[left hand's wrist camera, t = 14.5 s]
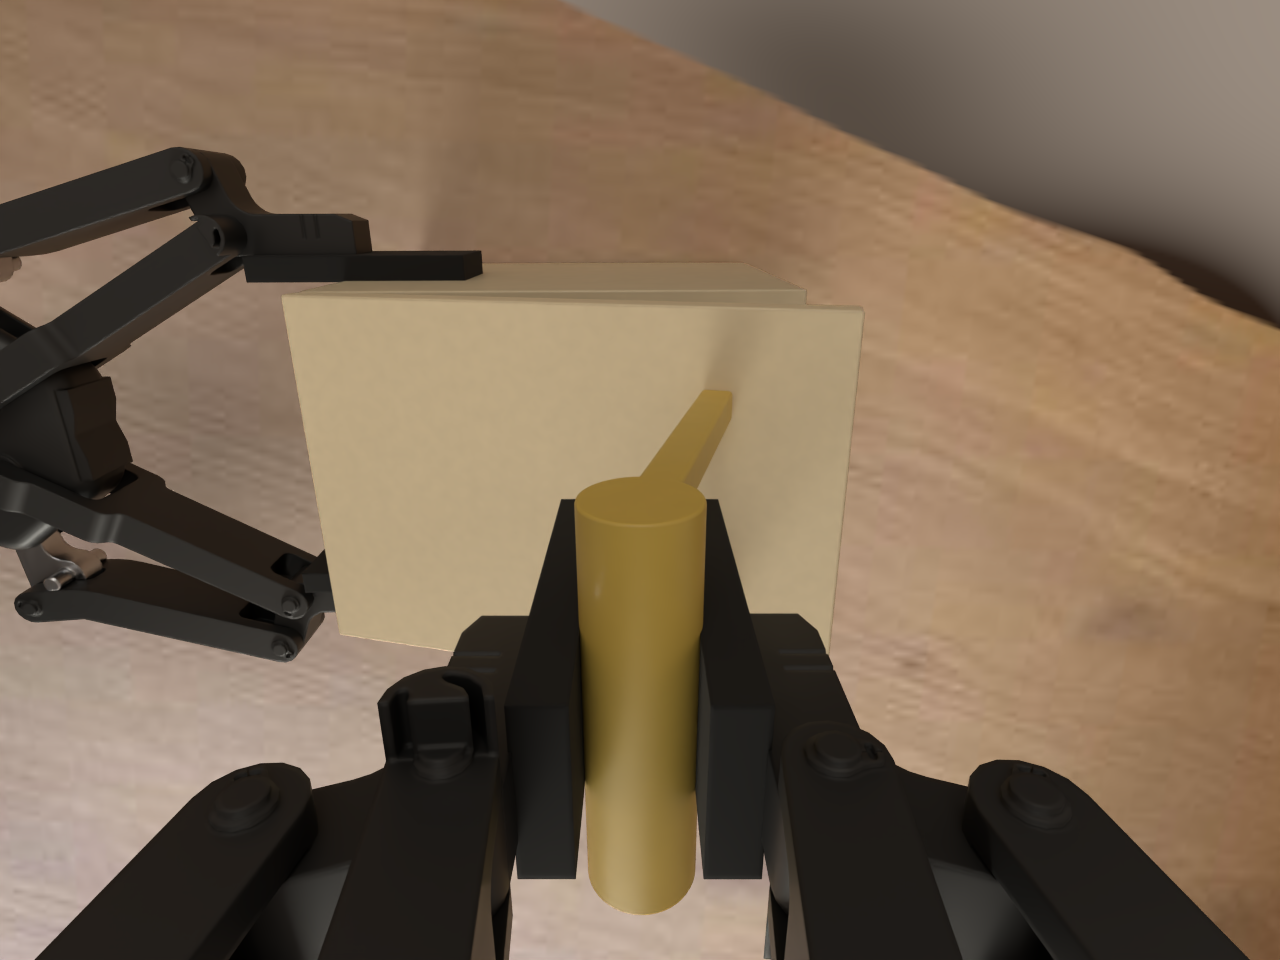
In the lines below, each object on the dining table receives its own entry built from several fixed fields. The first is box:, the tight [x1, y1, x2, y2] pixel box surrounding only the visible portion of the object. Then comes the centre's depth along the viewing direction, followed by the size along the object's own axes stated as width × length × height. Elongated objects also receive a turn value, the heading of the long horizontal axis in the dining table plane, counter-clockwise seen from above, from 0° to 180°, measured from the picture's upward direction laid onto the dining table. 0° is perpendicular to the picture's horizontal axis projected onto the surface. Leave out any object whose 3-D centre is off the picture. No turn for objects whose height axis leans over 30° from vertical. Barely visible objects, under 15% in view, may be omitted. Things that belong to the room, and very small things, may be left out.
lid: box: [281, 292, 865, 915], centre depth 15 cm, size 14×10×9 cm
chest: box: [301, 262, 807, 305], centre depth 25 cm, size 13×10×11 cm
